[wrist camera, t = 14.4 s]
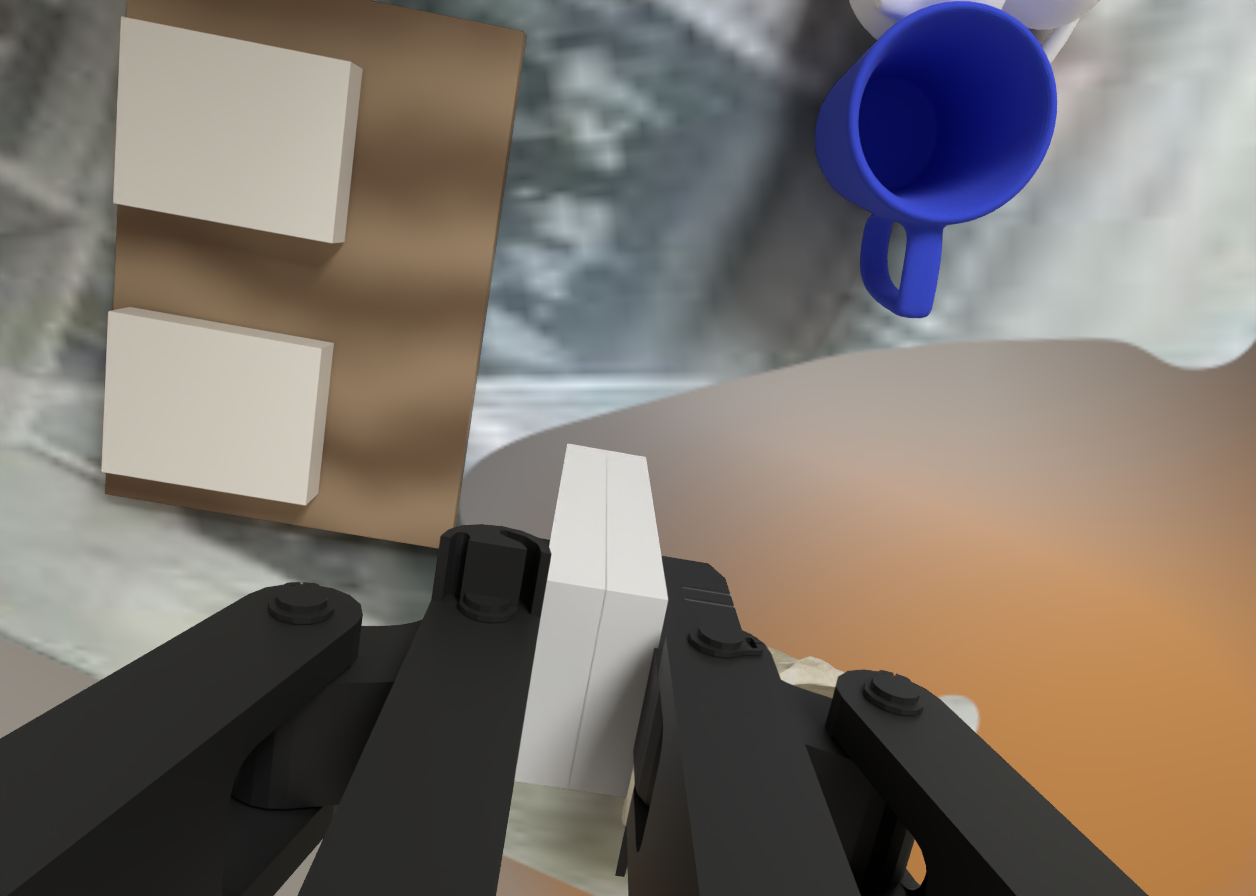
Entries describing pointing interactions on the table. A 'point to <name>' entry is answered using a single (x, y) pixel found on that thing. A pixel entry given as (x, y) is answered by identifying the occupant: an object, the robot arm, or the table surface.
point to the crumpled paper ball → (1033, 3)
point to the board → (359, 259)
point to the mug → (935, 135)
